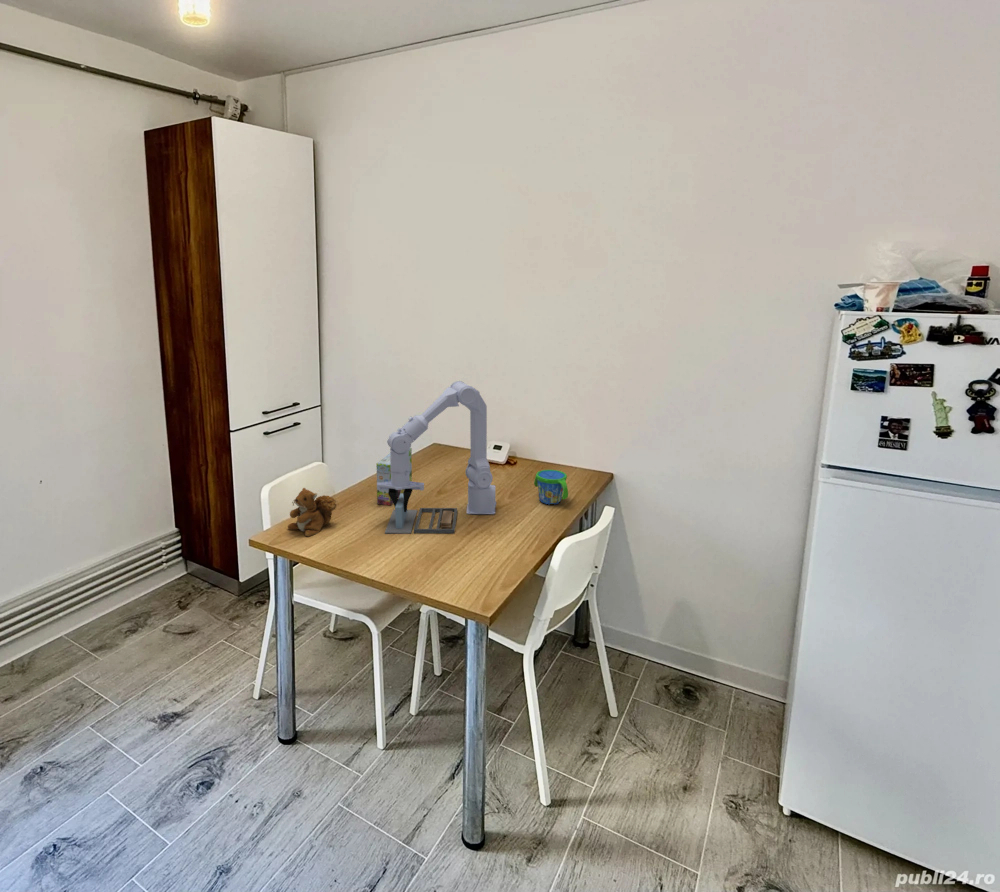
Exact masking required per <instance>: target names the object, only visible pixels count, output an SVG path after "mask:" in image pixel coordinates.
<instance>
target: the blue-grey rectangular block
mask: <svg viewBox="0 0 1000 892" xmlns="http://www.w3.org/2000/svg"><path fill="white" fill-rule="evenodd" d="M394 510H395V519H396V528H403V525H404V522H405V519H406V516H407V511H406V512H404V496H403V493H401V494H400V496H399V498H398V501H397V504H396V506H394Z"/></svg>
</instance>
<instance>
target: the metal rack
mask: <svg viewBox="0 0 1000 892" xmlns="http://www.w3.org/2000/svg"><path fill="white" fill-rule="evenodd" d="M443 511H453V517H452V524H451V529H441V521H442V516H443ZM423 513H431V517H430V520H429V525H428V528H419V526H420V521H421V519H422V514H423ZM436 513H438V518H437V522H436V523H437V524H436V528H433V526H434V521H435V517H436ZM457 515H458V508H457V507H419V509H418V512H417V518H416V519H415V520H416V521H415V523H414V526H413V534H434V535H435V534H437V535H438V534H450V535H452V534H454V535H455V530H456V526H457V525H456V524H457V523H456V522H457Z"/></svg>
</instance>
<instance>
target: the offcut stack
mask: <svg viewBox="0 0 1000 892" xmlns="http://www.w3.org/2000/svg"><path fill="white" fill-rule="evenodd" d="M453 517H454V512H453V511H443V513H442V519H441V524H440V529H452V525H453Z"/></svg>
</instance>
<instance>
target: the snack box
mask: <svg viewBox="0 0 1000 892" xmlns="http://www.w3.org/2000/svg"><path fill="white" fill-rule="evenodd" d="M412 450H413V449H412V447H411V448H410V450H409V451H408V456H409V480H410V481H412V482H413V477H412V474H413V473H412V471H413V470H412V469H413V467H412V463H413V462H412V460H413V459H412V457H413V455H412ZM389 481H391V466H390V453H389V454H387V455H386V456H384V457H383V458H382V459H380V460H379V461H378V462H377V463H376V484H377V483H378V482H389ZM388 492H389V489H381V490H377V489H376V496H377V497H376V499H377V502H376V504H377V505H382V506H391V505H394V504H393V501H392V499H391V498H390V496H389V494H388ZM403 492H404V490H398V499H399V496H400V494H401V493H403Z"/></svg>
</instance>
